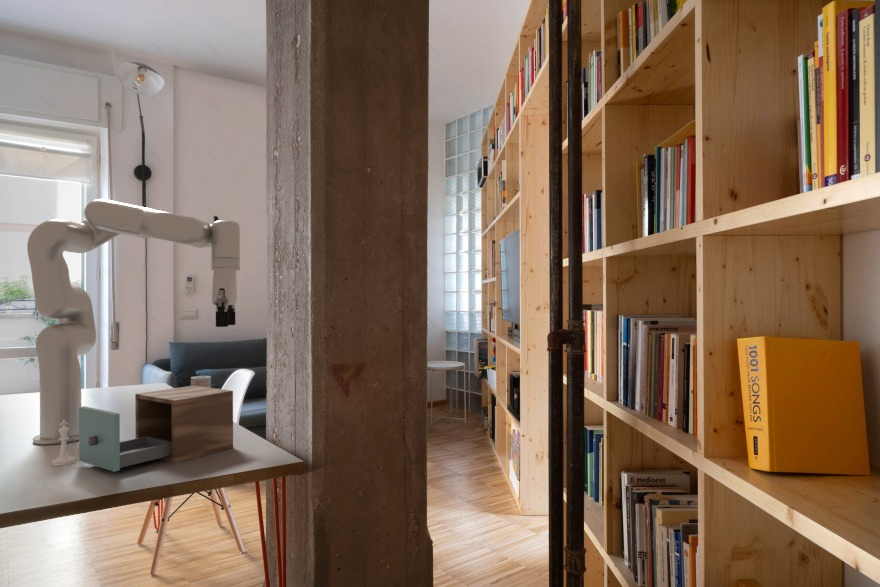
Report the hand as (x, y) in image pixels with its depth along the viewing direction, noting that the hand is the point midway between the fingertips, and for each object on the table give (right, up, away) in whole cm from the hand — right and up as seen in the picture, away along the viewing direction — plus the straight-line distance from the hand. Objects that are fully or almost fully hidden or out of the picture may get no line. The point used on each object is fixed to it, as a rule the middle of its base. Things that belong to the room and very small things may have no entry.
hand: (225, 325), depth 162 cm
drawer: (-13, -29, -28) cm, 42 cm away
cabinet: (-5, -31, -16) cm, 35 cm away
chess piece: (-28, -31, -26) cm, 50 cm away
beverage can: (-11, -31, +10) cm, 34 cm away
